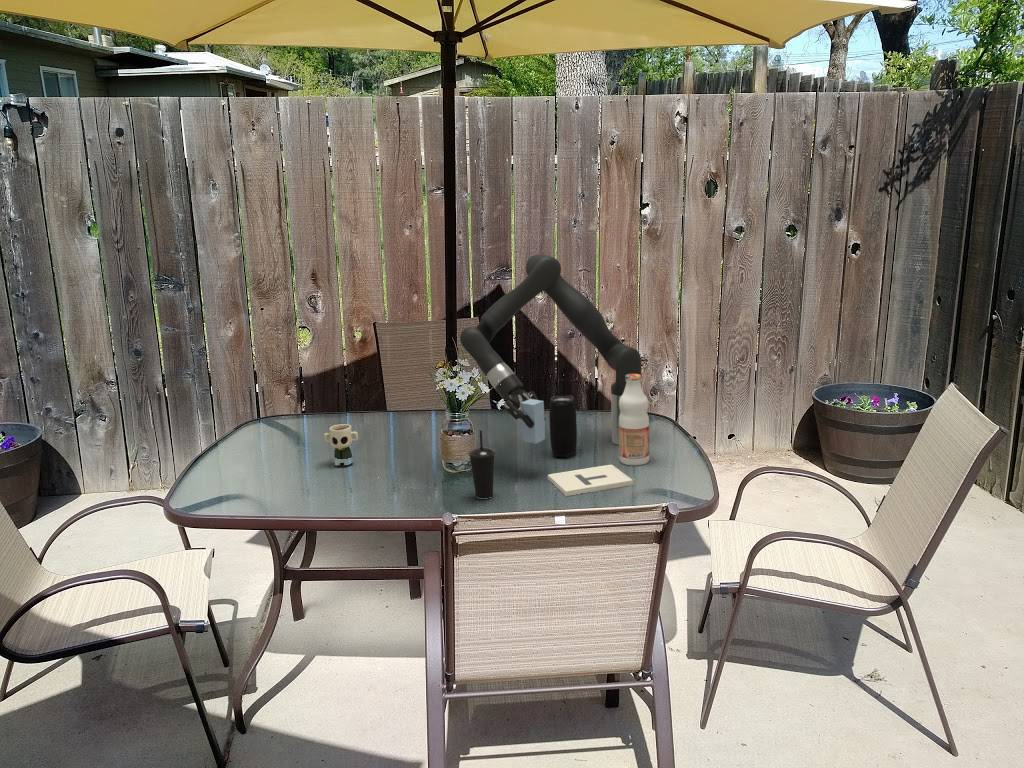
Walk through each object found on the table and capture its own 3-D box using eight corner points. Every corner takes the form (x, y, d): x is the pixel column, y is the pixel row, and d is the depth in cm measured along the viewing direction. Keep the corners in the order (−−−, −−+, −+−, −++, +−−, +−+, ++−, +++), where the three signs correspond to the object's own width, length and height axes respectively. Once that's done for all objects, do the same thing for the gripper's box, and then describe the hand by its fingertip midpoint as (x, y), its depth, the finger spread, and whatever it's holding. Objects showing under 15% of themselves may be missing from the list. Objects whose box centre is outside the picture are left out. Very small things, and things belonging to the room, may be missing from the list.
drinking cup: (474, 503, 230) (470, 436, 225) (468, 494, 237) (464, 428, 233) (500, 499, 232) (497, 432, 227) (494, 490, 239) (490, 425, 234)
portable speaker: (578, 450, 270) (576, 393, 266) (575, 460, 262) (574, 401, 257) (552, 450, 272) (550, 393, 267) (549, 459, 263) (547, 401, 258)
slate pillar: (532, 436, 249) (530, 398, 247) (545, 439, 246) (543, 400, 244) (522, 441, 246) (520, 403, 243) (535, 443, 243) (533, 405, 240)
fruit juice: (613, 460, 259) (611, 375, 252) (635, 454, 264) (634, 370, 257) (633, 468, 252) (631, 380, 245) (655, 461, 257) (655, 375, 250)
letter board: (611, 468, 252) (611, 464, 252) (632, 485, 238) (632, 480, 238) (547, 479, 246) (547, 474, 246) (566, 496, 232) (565, 491, 232)
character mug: (325, 469, 265) (321, 431, 261) (329, 462, 272) (325, 424, 268) (358, 467, 265) (354, 429, 261) (362, 460, 271) (358, 423, 268)
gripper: (496, 378, 240) (530, 423, 236) (524, 368, 251) (558, 410, 247) (483, 393, 245) (517, 437, 240) (512, 383, 256) (545, 425, 251)
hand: (538, 423), depth 244 cm, fingers closed on slate pillar, 5 cm apart
